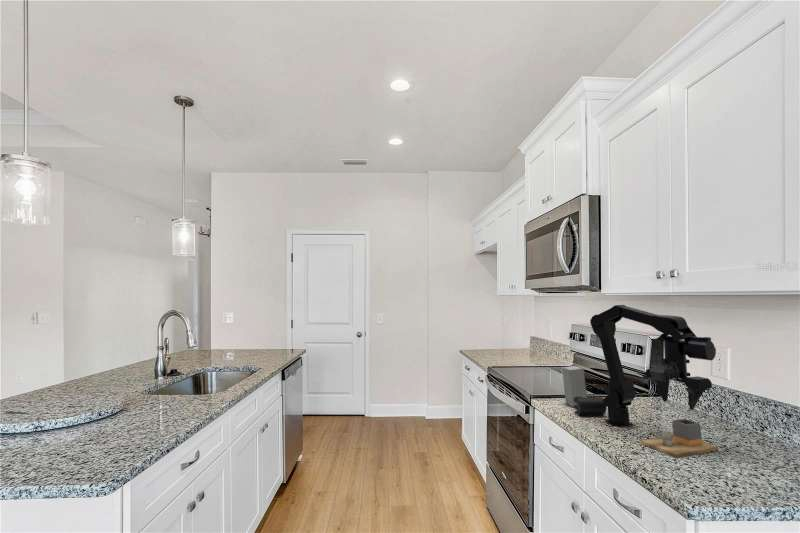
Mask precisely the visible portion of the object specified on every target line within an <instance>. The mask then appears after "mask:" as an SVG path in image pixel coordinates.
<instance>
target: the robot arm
mask: <svg viewBox="0 0 800 533" xmlns="http://www.w3.org/2000/svg"><path fill="white" fill-rule="evenodd" d="M622 319H628V320H630V321H633V322H637V323H641V324H644V325H648V326H651V327H652V328H653V329H655V330H656V331H658V332H660V333H661V334H660V336H658V337H657V338H656V341H660V342H663V348H664V357H663V358H662V357H661V360H660V363H659V364H658V365H655V366H654V367H652V368H647V369H646V371H645V378H648V380H649V381H650V382H652V383H653V384H655V387H657V388H656V389H657V390H658V392H659V394H660V397H661V399H662V402H664V403H667V401H668V398H669V392H670V391H669V390H670V380H671V381H674V382H678V383H679V382H680V383H684V385H685V386H686V387H684V389H685V391H686V392H687V398H688V406H689V407H688V408H689V410H691V411H693V410H695V408H696V405H697V403H698V402H699V400H700V399H701V396H703V394H704V392H705V391H708V390H709V389H713V384H712V381H711V379H710V378H708V377H702V376H691V372H688V368H687V366H688V365H687V364H690V363H691V362H690V359H695V360H696V359H697V360H702V361H704V360H705V361H713V360H715V358H716V354H717V349H716V347H715V344H714V343H713V341H712V338H711V337H710V336H709V337H708V336H703V337H701V336H697V335H696V334H695V333H694V331H693V330H692V329H691V328H690V327H689V325H688V322H687V321H686V319H685V318H684V317H682V316H681V315H680V316H677V315H671V314H670V315H669V314H668V315H666V314H657V313H652V312H650V311H649V312H648V311H645V310H641V309H637V308H634V307H629V306H627V305H625V304H617V305H613V306H612V307H611V308H609V309H606V310H605V311H602V312H601V313H598V314H594V315H592V316H591V318H590V320H589V323H590V324H589V325H590V326H591V329H592V331H593V333H594V334H595V335H596V336H597V337H598V339H599V342H600V345H601V350H602V353H603V358H604V361H605V365H606V369H607V372H608V373H607V374H608V377H609V380H608V385H607V388H608V389H607V390H608V394H607V395H606V396H605V397H604V398H603V400H602V401H603V404H604V406H606V407H607V419H604V422H606V423H609V424H611V425H613V426H616V427H624V426H625V427H626V426H631V425H633V422H631V421H630V412H629V408H628V406H631V405H632V402H633V401H634V399H635V398H636V393H637V390H636V389H635V386H634V385H635V384H634V381H633V380H630V381H629V380H628V378H627V377H626V376H625V372H624V369H623V365H622V362H621V357H620V353H619V350H618V346H617V343H616V338H615V335H616V331H617V325H616V324H617V323H618V322H620V321H621V320H622ZM687 357H688V358H689V359H688V358H687Z"/></svg>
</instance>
